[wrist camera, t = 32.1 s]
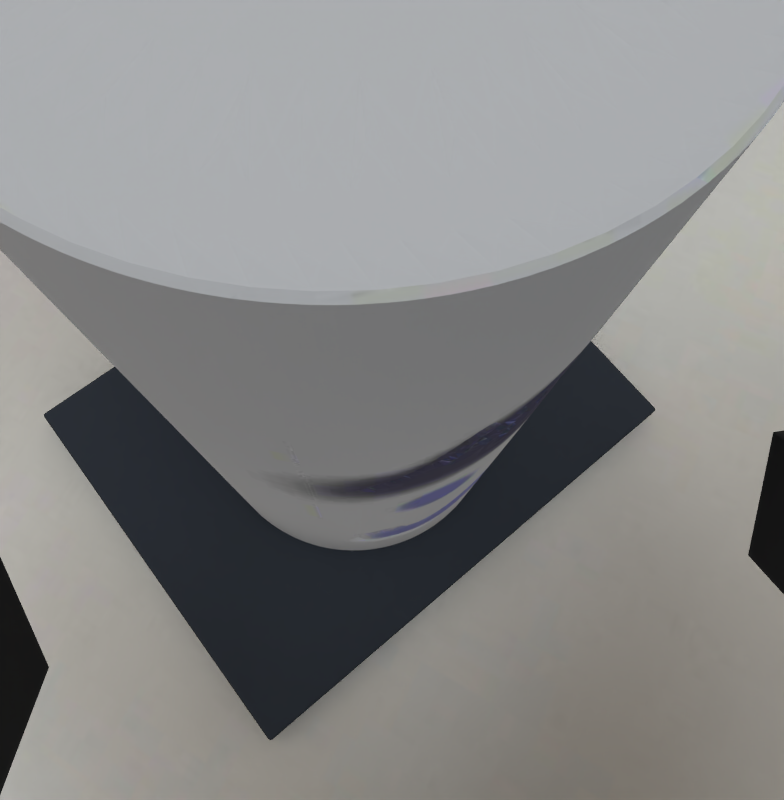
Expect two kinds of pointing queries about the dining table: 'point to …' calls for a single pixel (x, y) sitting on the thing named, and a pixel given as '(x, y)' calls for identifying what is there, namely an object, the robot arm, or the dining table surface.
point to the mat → (310, 564)
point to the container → (362, 215)
